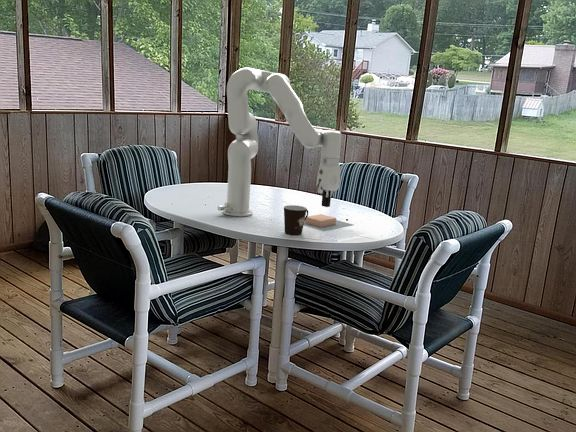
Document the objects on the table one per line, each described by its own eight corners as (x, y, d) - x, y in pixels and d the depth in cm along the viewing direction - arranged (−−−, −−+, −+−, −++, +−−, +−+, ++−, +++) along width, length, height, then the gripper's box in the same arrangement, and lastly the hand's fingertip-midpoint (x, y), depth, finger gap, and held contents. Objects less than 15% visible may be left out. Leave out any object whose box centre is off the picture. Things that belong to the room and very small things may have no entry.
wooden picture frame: (335, 224, 228) (320, 227, 221) (320, 220, 234) (305, 222, 226) (336, 218, 228) (320, 221, 221) (321, 214, 233) (305, 216, 226)
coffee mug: (287, 236, 205) (289, 210, 203) (278, 230, 213) (280, 205, 211) (315, 235, 210) (317, 209, 208) (305, 229, 218) (307, 204, 215)
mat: (323, 232, 215) (323, 231, 215) (289, 222, 227) (289, 221, 227) (354, 226, 230) (354, 224, 230) (321, 217, 242) (321, 215, 242)
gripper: (325, 163, 216) (320, 210, 220) (348, 162, 226) (344, 206, 231) (310, 161, 221) (306, 206, 225) (334, 159, 231) (330, 202, 235)
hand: (325, 206), depth 228 cm, fingers closed
